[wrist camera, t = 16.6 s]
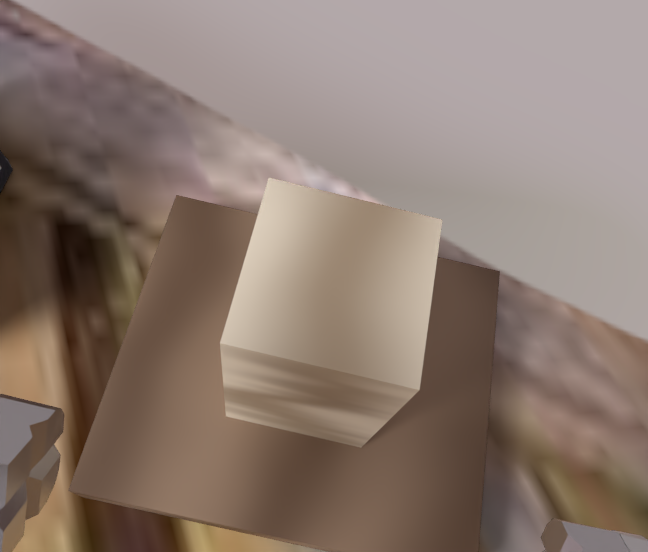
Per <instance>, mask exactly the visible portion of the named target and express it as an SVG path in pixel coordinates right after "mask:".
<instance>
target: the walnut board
mask: <svg viewBox="0 0 648 552" xmlns="http://www.w3.org/2000/svg"><path fill="white" fill-rule="evenodd" d="M257 216H258V214H254V213H250V212H246V211H242V210H237V209H233V208H229V207H225V206H220V205H216V204H212V203H208V202H204V201H199V200H195V199H191V198H187V197H182V196H178V195H176V198H175V201H174V203H173V206H172V209H171V212H170V214H169V217H168V220H167V223H166V225H165V228H164V231H163V234H162V236H161V239H160V242H159V244H158V247H157V250H156V253H155V255H154V258H153V261H152V264H151V266H150V269H149V272H148V274H147V277H146V280H145V283H144V285H143V288H142V291H141V294H140V296H139V299H138V302H137V305H136V307H135V310H134V313H133V315H132V318H131V321H130V324H129V326H128V329H127V332H126V335H125V337H124V340H123V343H122V346H121V348H120V351H119V354H118V356H117V359H116V362H115V365H114V367H113V370H112V373H111V376H110V378H109V381H108V384H107V387H106V389H105V392H104V395H103V397H102V400H101V403H100V406H99V408H98V411H97V414H96V417H95V419H94V422H93V425H92V427H91V430H90V433H89V436H88V438H87V441H86V444H85V447H84V449H83V452H82V455H81V458H80V460H79V463H78V466H77V468H76V471H75V474H74V477H73V479H72V482H71V485H70V488H69V490H68V491H70V492H73V493H75V494H77V495H79V496H81V497H85V498H89V499H94V500H98V501H103V502H107V503H112V504H116V505H121V506H125V507H130V508H134V509H139V510H143V511H148V512H152V513H157V514H162V515H166V516H171V517H175V518H180V519H184V520H189V521H193V522H198V523H202V524H207V525H211V526H216V527H220V528H225V529H229V530H234V531H238V532H243V533H247V534H252V535H256V536H261V537H265V538H270V539H274V540H279V541H283V542H288V543H292V544H297V545H301V546H306V547H310V548H315V549H319V550H324V551H328V552H478V551H479V538H480V525H481V511H482V498H483V485H484V472H485V459H486V445H487V432H488V419H489V406H490V392H491V379H492V366H493V353H494V340H495V326H496V313H497V300H498V287H499V273H500V271H495V270H491V269H487V268H483V267H479V266H474V265H470V264H466V263H462V262H457V261H453V260H449V259H445V258H440V257H437V264H436V271H435V279H434V286H433V294H432V301H431V308H430V316H429V323H428V331H427V338H426V346H425V353H424V361H423V368H422V376H421V383H420V390H419V391H418V392H417V393H416V394H415V395H414V396H413V397H412V398H411V399H410V400H409V401H408V402H407V403H406V404H405V405H404V406H403V407H402V408H401V409H400V410H399V411H398V412H397V413H396V414H395V415H394V416H393V417H392V418H391V419H390V420H389V421H388V422H387V423H386V424H385V425H384V426H383V427H381V428H380V429H379V430H378V431H377V432H376V433H375V434H374V435H373V436H372V437H371V438H370V439H369V440H368V441H367V442H366V443H365V444H364V445H363V446H362V447H361V448H360V447H356V446H352V445H347V444H343V443H339V442H335V441H330V440H326V439H322V438H317V437H313V436H309V435H304V434H300V433H296V432H291V431H287V430H283V429H278V428H274V427H270V426H266V425H261V424H257V423H253V422H248V421H244V420H240V419H235V418H231V417H227V416H226V412H225V399H224V387H223V375H222V362H221V350H220V341H221V338H222V334H223V331H224V328H225V324H226V321H227V318H228V314H229V311H230V307H231V304H232V301H233V297H234V294H235V290H236V287H237V284H238V280H239V277H240V273H241V270H242V267H243V263H244V260H245V257H246V253H247V250H248V246H249V243H250V240H251V236H252V233H253V229H254V226H255V223H256V219H257Z"/></svg>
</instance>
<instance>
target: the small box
mask: <svg viewBox="0 0 648 552" xmlns="http://www.w3.org/2000/svg"><path fill="white" fill-rule="evenodd" d="M12 171H13V169H12V167H11V165H10V163H9V161H8V159H7V158H6V157H5V156H4V155H3V153H2V152H1V150H0V193H1V190H2V189H3V187H4V185H5V183H6V181H7V179H8V178H9V176H10V174H11V172H12Z"/></svg>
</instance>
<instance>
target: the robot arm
mask: <svg viewBox="0 0 648 552" xmlns="http://www.w3.org/2000/svg"><path fill="white" fill-rule="evenodd" d="M63 425H64V413H63V411H62V409H61V408H57V407H53V406H49V405H45V404H41V403H37V402H32V401H28V400H24V399H20V398H16V397H12V396H8V395H4V394H0V552H12V551H13V550H14V548H15V547H16V545H17V544H18V543H19V541H20V540H21V538H22V537H23V535H24V528H25V520H27V519H29V518H31V517H33V516H36V515H38V514H39V512H40V511H41V509H42V508H43V506H44V505H45V503H46V502H47V500H48V498H49V496H50V493H51V491H52V489H53V487H54V484H55V481H56V478H57V474H58V470H59V463H60V454H59V452H58V450H57V449H56V447H55V445H54V443H55V442H56V440H57V439H58V438H59V436H60V435H61V434H62V433H63ZM541 539H542V542H543V545H544V547H545V550H544V551H543V552H648V540H647V539H646V538H644V537H643V536H641V535H636V534H630V533H625V532H620V531H615V530H612V531H610V530H605V529H601V528H596V527H591V526H586V525H582V524H577V523H572V522H567V521H563V520H558V519H552V520H551V521H550V522H549V523H548V524H547V525H546V527H545V529H544V532H543V534H542V536H541Z"/></svg>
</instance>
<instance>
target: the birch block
mask: <svg viewBox="0 0 648 552" xmlns="http://www.w3.org/2000/svg"><path fill="white" fill-rule="evenodd" d="M441 226H442V219H438V218H434V217H430V216H425V215H421V214H417V213H413V212H408V211H405V210H401V209H397V208H392V207H388V206H384V205H380V204H376V203H372V202H368V201H364V200H359V199H355V198H351V197H347V196H343V195H339V194H335V193H331V192H326V191H322V190H318V189H314V188H310V187H306V186H302V185H297V184H293V183H289V182H285V181H281V180H277V179H273V178H269V179H268V182H267V185H266V189H265V192H264V196H263V199H262V202H261V206H260V209H259V213H258V216H257V219H256V223H255V226H254V229H253V233H252V236H251V240H250V243H249V246H248V250H247V253H246V257H245V260H244V263H243V267H242V270H241V273H240V277H239V280H238V284H237V287H236V290H235V294H234V297H233V301H232V304H231V307H230V311H229V314H228V318H227V321H226V324H225V328H224V331H223V334H222V338H221V341H220V350H221V362H222V375H223V387H224V399H225V412H226V416H227V417H231V418H235V419H240V420H244V421H248V422H253V423H257V424H261V425H266V426H270V427H274V428H278V429H283V430H287V431H291V432H296V433H300V434H304V435H309V436H313V437H317V438H322V439H326V440H330V441H335V442H339V443H343V444H347V445H352V446H356V447H360V448H361V447H362V446H363V445H364V444H365V443H366V442H367V441H368V440H369V439H370V438H371V437H372V436H373V435H374V434H375V433H376V432H377V431H378V430H379V429H380V428H381V427H383V426H384V425H385V424H386V423H387V422H388V421H389V420H390V419H391V418H392V417H393V416H394V415H395V414H396V413H397V412H398V411H399V410H400V409H401V408H402V407H403V406H404V405H405V404H406V403H407V402H408V401H409V400H410V399H411V398H412V397H413V396H414V395H415V394H416V393H417V392H418V391H419V390H420V383H421V376H422V368H423V361H424V353H425V346H426V338H427V331H428V323H429V316H430V308H431V301H432V294H433V286H434V279H435V271H436V264H437V256H438V249H439V241H440V234H441Z"/></svg>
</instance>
